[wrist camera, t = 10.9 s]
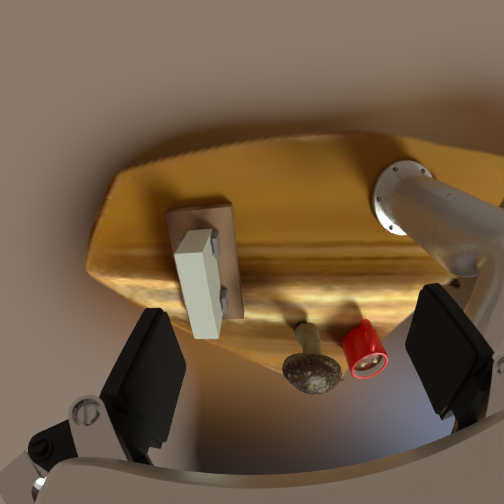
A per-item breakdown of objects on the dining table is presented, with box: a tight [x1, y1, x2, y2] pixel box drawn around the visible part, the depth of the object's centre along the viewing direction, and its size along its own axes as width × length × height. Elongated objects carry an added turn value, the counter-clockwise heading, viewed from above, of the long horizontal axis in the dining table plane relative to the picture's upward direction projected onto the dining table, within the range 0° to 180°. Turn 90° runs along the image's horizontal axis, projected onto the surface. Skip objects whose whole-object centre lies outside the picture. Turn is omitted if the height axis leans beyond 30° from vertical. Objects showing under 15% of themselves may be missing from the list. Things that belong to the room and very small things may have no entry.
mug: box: [342, 319, 388, 379], centre depth 47 cm, size 8×12×8 cm, turn 12°
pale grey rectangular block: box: [174, 229, 223, 339], centre depth 39 cm, size 4×14×8 cm, turn 4°
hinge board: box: [165, 203, 244, 320], centre depth 42 cm, size 10×20×5 cm, turn 4°
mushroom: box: [282, 322, 342, 395], centre depth 43 cm, size 9×9×15 cm
